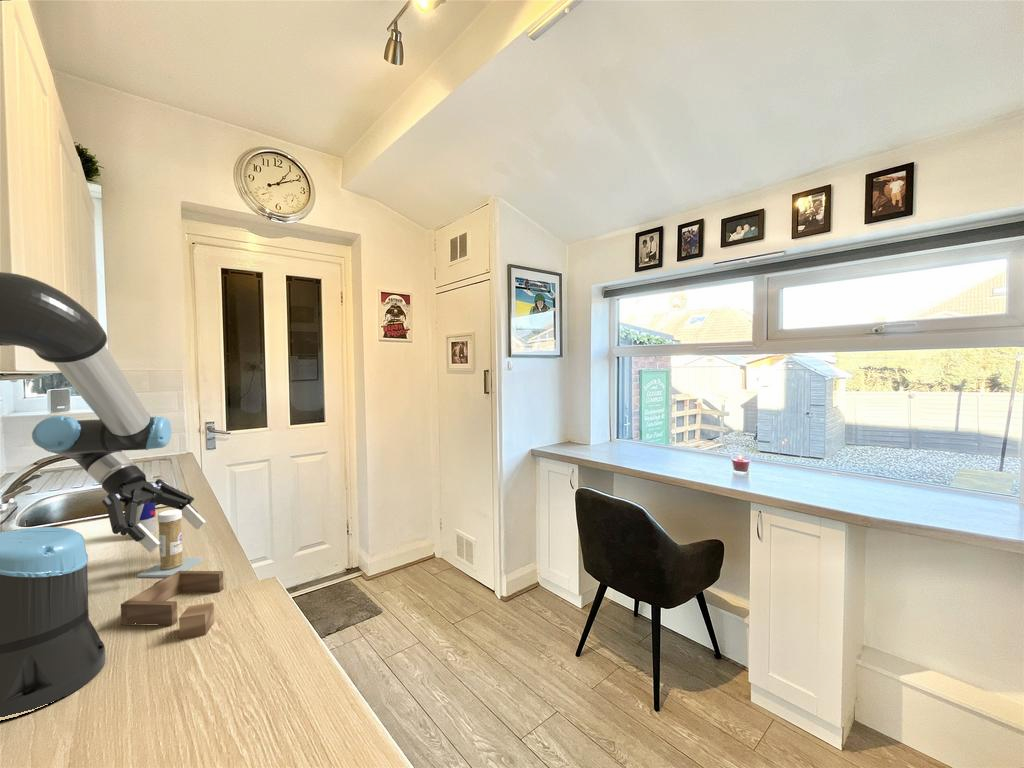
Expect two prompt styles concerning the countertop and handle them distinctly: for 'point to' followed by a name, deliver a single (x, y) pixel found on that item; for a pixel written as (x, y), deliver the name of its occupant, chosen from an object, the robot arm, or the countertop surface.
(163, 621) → the cubby
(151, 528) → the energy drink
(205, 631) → the walnut cube
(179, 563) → the spice jar
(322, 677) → the countertop surface
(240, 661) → the countertop surface
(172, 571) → the coaster
